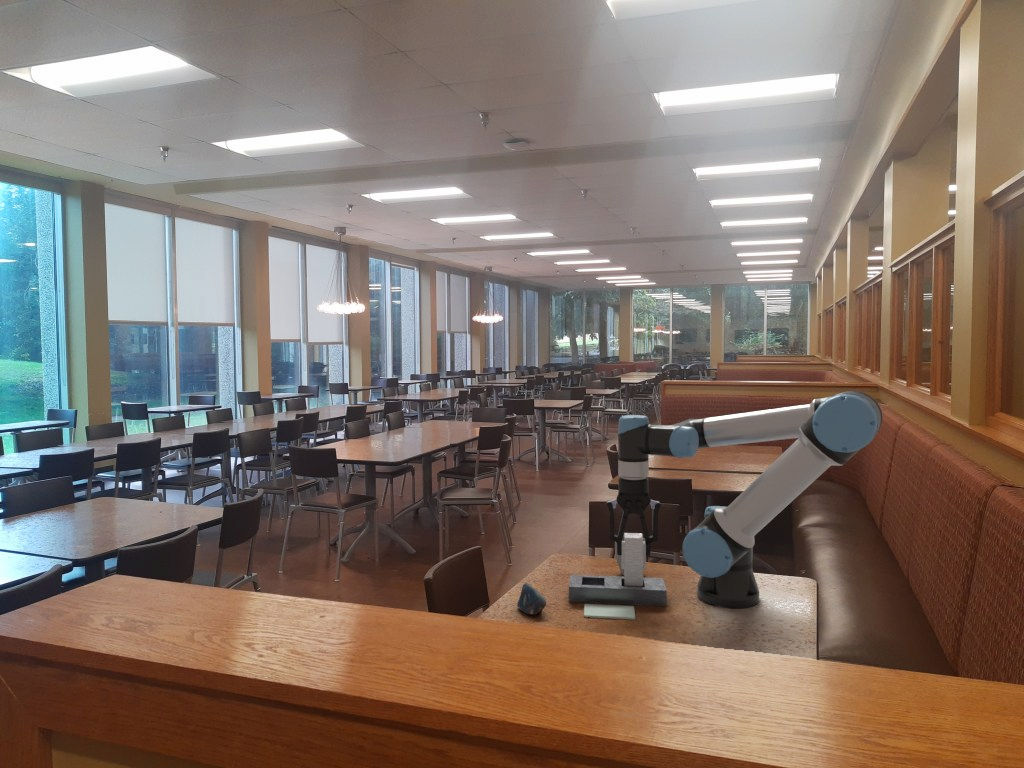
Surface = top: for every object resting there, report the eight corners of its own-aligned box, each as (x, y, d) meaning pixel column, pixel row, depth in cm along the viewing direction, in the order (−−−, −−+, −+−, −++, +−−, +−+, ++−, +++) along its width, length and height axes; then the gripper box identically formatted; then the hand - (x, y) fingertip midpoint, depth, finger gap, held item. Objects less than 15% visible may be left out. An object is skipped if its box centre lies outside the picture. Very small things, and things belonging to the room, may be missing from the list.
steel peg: (642, 587, 176) (642, 533, 175) (643, 593, 171) (643, 538, 171) (624, 586, 177) (624, 532, 176) (624, 592, 172) (624, 537, 171)
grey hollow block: (663, 593, 178) (663, 578, 177) (666, 606, 169) (666, 590, 169) (570, 589, 181) (570, 574, 181) (568, 602, 172) (568, 586, 172)
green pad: (633, 608, 168) (633, 606, 168) (635, 619, 161) (635, 617, 161) (584, 606, 169) (584, 604, 169) (583, 617, 162) (583, 615, 162)
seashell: (537, 610, 160) (553, 576, 167) (505, 607, 165) (521, 574, 172) (547, 627, 163) (562, 594, 170) (515, 623, 168) (531, 591, 175)
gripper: (667, 474, 175) (667, 564, 176) (598, 473, 177) (598, 562, 179) (670, 480, 167) (670, 573, 169) (598, 479, 170) (598, 571, 171)
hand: (633, 567), depth 174 cm, fingers closed on steel peg, 4 cm apart
